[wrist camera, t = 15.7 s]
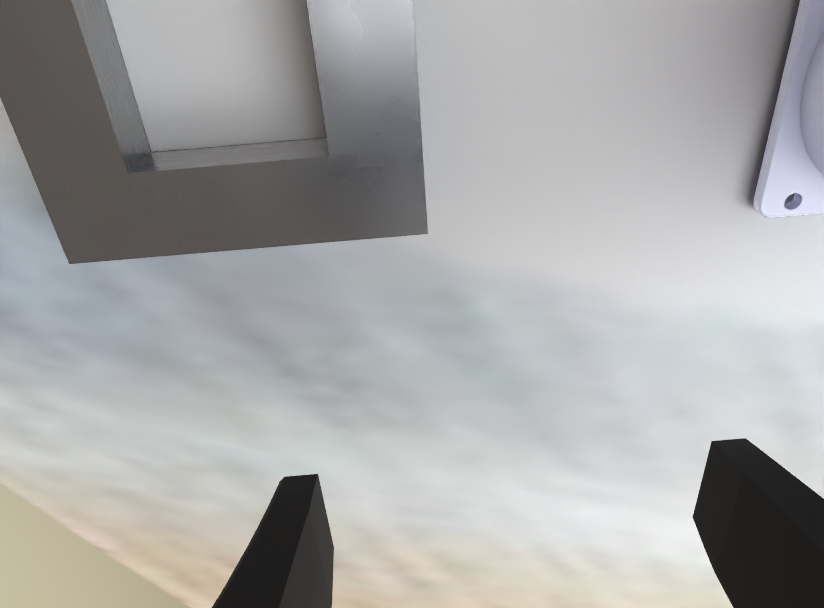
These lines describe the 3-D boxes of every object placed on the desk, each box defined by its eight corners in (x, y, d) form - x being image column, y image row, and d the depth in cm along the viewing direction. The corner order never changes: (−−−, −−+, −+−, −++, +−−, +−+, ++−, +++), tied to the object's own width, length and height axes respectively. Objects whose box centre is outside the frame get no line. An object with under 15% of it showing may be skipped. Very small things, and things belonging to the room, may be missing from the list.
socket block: (395, -221, 13) (396, -243, 12) (423, 209, 18) (427, 233, 17) (-62, -182, 13) (-122, -199, 12) (95, 236, 18) (69, 263, 17)
